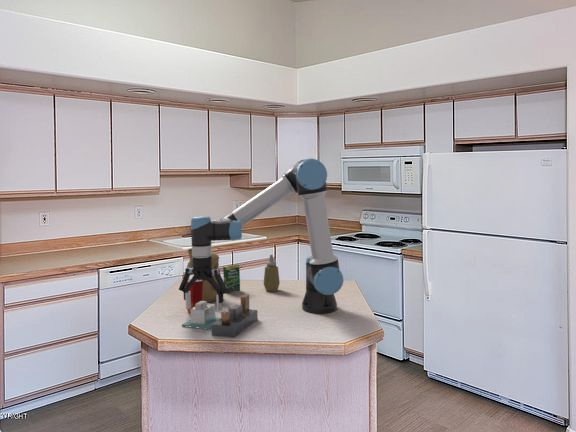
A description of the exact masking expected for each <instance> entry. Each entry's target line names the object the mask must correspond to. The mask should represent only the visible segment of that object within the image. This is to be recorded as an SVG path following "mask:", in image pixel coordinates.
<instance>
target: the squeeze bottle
mask: <svg viewBox="0 0 576 432" xmlns="http://www.w3.org/2000/svg"><path fill="white" fill-rule="evenodd" d="M279 273H280V271H279V267H278V266H277V262H276V261H275V259H274V256H273V254H270V255H269V259H268V261H267V262H266V266H265V267H264V273H263V274H264V275H263V286H264V288H265V291H266V292H270V293H271V292H272V293H273V292H277V291H278V290H279V287H280V283H281V282H280V274H279Z"/></svg>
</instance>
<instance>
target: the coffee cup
mask: <svg viewBox="0 0 576 432" xmlns="http://www.w3.org/2000/svg"><path fill="white" fill-rule="evenodd" d="M193 276H194V275H190V277H189V279H188V282H187V284H188V283H189V282H190V280H191V279H192V277H193ZM187 284H186V286H187ZM186 286H185V287H186ZM189 291H191V308H193V307H195V304H196V303H198V302H200V301H202V293H203V280H198V279H197V280H196V281H195V283H194V284H193V285H192V287H191V288H190V289H189ZM191 308H189V309H186V311H187V312H188V313H189V312H191V311H190V309H191Z"/></svg>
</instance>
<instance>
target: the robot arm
mask: <svg viewBox="0 0 576 432" xmlns="http://www.w3.org/2000/svg"><path fill="white" fill-rule="evenodd" d="M327 178H328V171H327V168H326V166H325V165H324V163H322V162H321V161H320V160H317V159H315V158H306V159H301V160H299V161H297V162H296V163H295V164H294V165H293V166H292V167H290V168H289V169H288V170H287V171H286V172H284V173H283V174H281V177H280V179H278V180H277V181H276V182H274V183H273V184H271V185H269V186H268V187H267V188H265V189H264V190H262V191H260V192H259V193H258V194H257V195H255V196H253V197H252V198H250V199H249V200H248V201H246V202H245V203H243V204H242V205H240V206H239V207H237V208H236V209H235V210H233V211H232V212H231V213H229V214H228V215H226V216H224V217H221V218H220V219H219V220H218V221H217V220H216V221H215V220H213V221H212V219H211V217H210V216H207V215H201V216H200V215H198V216H197V215H196V216H194V217H192V218H191V220H190V222H191V223H190V238H191V249H192V256H194V257H193V258H192V266H193V268H191V267H188V268H187V267H186V268H185V269H184V270H185V271H184V272H185V273H184V276H183V278H182V280H181V282H180V285H179V287H178V290H179V291H181V292H182V293H183V300H184V301H185V309H186V310H187V309H189V308H191V291H189V289H190V288H191V287H192V285H193V284H194V283H195V281H196V280H197V279H198V280H207V281H208V282H209V283H210V284H211V286H212V287H213V288H214V289H215V291H216V292H217V293H218V295H216V300H215V301H216V312H217V313H220V312H221V311H223V310H222V308H223V307H222V305H223V304H222V303H224V295H225V294H228V293H227V292H228V290H227V288H226V286H225V284H224V278H222V275H221V272H220V270H221V269H220V268H218V269H215V270H212V257H211V256H210V255H211V254H212V253H213V252H212V241H236V240H237V241H238V240H241V239H242V238H243V229H242V228H243V227H244V226H247V224H249V223H250V222H252V221H253V220H254V219H256V218H257V217H260V216H261V215H262V214H263V213H265V212H267V211H268V210H269V209H271V208H272V207H274V206H275V205H277V204H278V203H280V202H281V201H283V200H284V199H285V198H287V197H288V196H290V195H291V194H293V195H294V194H296V193H297V195H298V197H300V198H301V199H302V203H303V208H304V214H305V215H304V216H305V221H306V227H307V232H308V233H307V234H308V239H309V246H310V252H311V255H310V256H307V257H306V258H305V293H304V295H303V296H304V297H303V300H302V302H301V303H302V304H301V308H302V310H303V311H305V312H308V313H313V314H328V313H333V312H335V311H337V310H338V303H337V300H336V296H335V294H336V293H338V292H339V291H340V290H341V288H342V287H343V284H344V275H343V273H342V271H341V270H340V264H339V258H338V256H336V255H335V253H334V251H333V249H334V248H333V244H332V238H331V230H330V224H329V218H328V211H327V205H326V198H325V195H326V193H327V192H328V185H327V180H328V179H327ZM192 272H193V274H194V276H193V277H192V279H191V280H190V282H189V283H188V284H187V282H188V279H189V277H190V274H191V273H192ZM212 273H213V275H215V278H216V280H217V282H216V281H215V280H214V277H213V276H212V275H211V274H212ZM217 283H218V284H217ZM186 284H187V286H186ZM185 286H186V287H185Z"/></svg>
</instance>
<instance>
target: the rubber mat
mask: <svg viewBox="0 0 576 432" xmlns="http://www.w3.org/2000/svg"><path fill="white" fill-rule="evenodd" d="M219 319H221V317H216V319H215V320H213V321H211V322H210V323H208V324H207V325H205V326H203V325H194V324H191V319H189V320H188V321H186V322H183V323H182V324H181V327H182V326H191V327H199V328H206V329H205V330H207V329H210V328H212V325H211V324H213V323H214V322H216V321H218V320H219ZM199 328H198V329H199ZM210 330H211V329H210Z"/></svg>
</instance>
